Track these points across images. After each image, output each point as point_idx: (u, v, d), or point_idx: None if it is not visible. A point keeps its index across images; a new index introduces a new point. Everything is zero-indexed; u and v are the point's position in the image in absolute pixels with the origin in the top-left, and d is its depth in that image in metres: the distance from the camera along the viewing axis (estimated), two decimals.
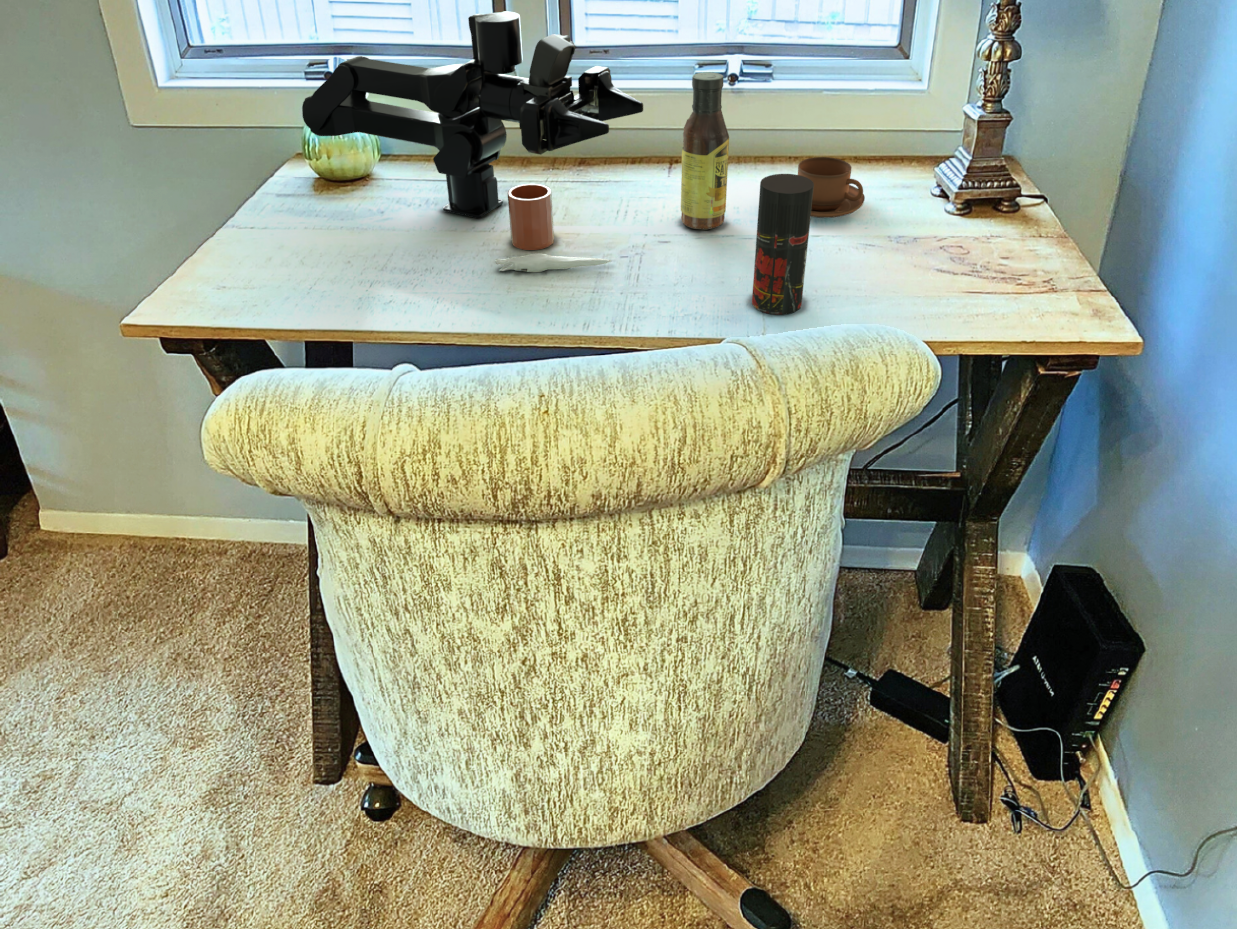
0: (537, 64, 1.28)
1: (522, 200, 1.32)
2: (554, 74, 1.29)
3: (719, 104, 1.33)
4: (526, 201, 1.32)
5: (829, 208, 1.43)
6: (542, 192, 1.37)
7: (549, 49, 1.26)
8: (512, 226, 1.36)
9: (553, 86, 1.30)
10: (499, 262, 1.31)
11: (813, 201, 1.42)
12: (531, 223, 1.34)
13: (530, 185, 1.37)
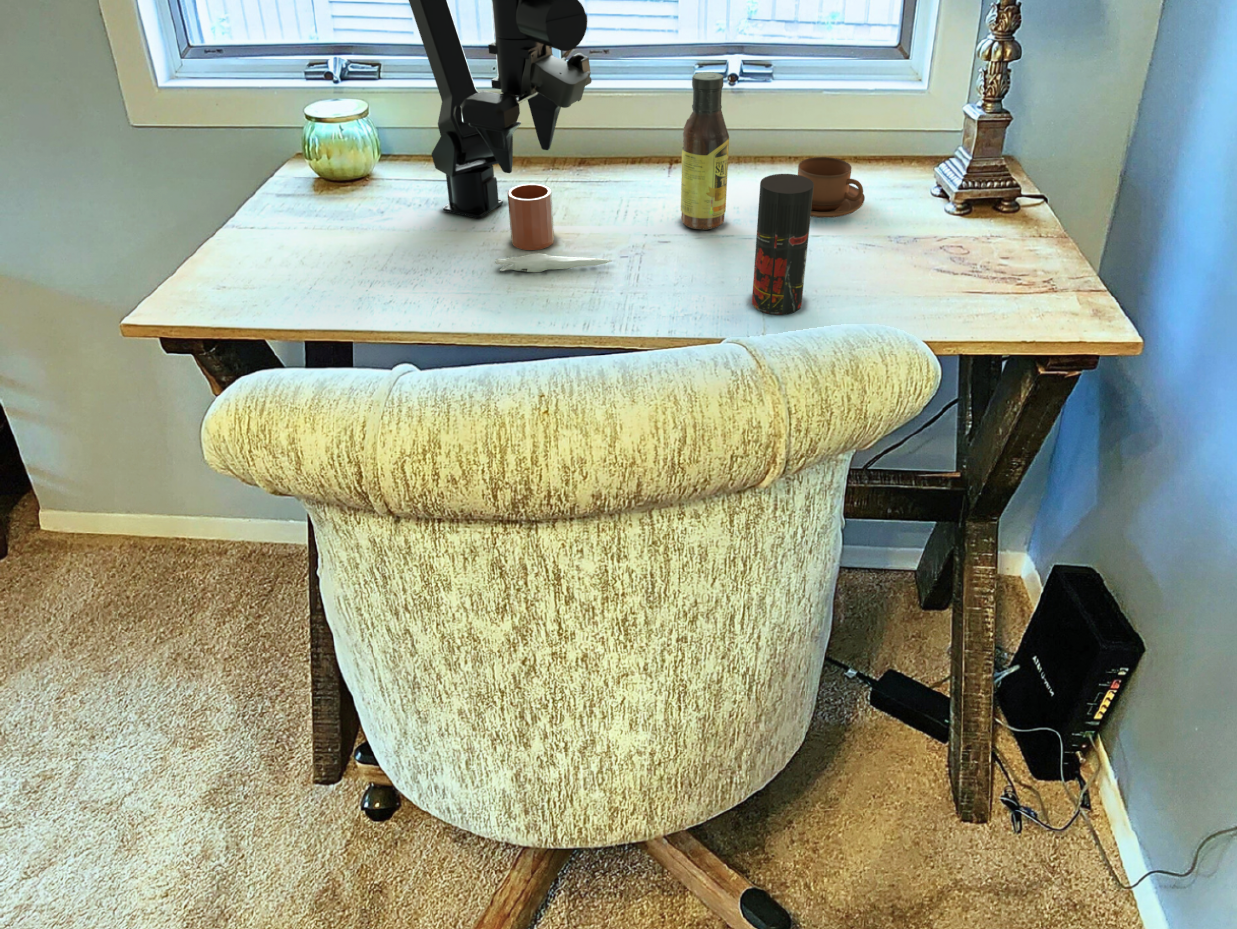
0: (550, 82, 1.22)
1: (522, 200, 1.32)
2: None
3: (719, 104, 1.33)
4: (526, 201, 1.32)
5: (829, 208, 1.43)
6: (542, 192, 1.37)
7: (566, 98, 1.22)
8: (512, 226, 1.36)
9: None
10: (499, 262, 1.31)
11: (813, 201, 1.42)
12: (531, 223, 1.34)
13: (530, 185, 1.37)
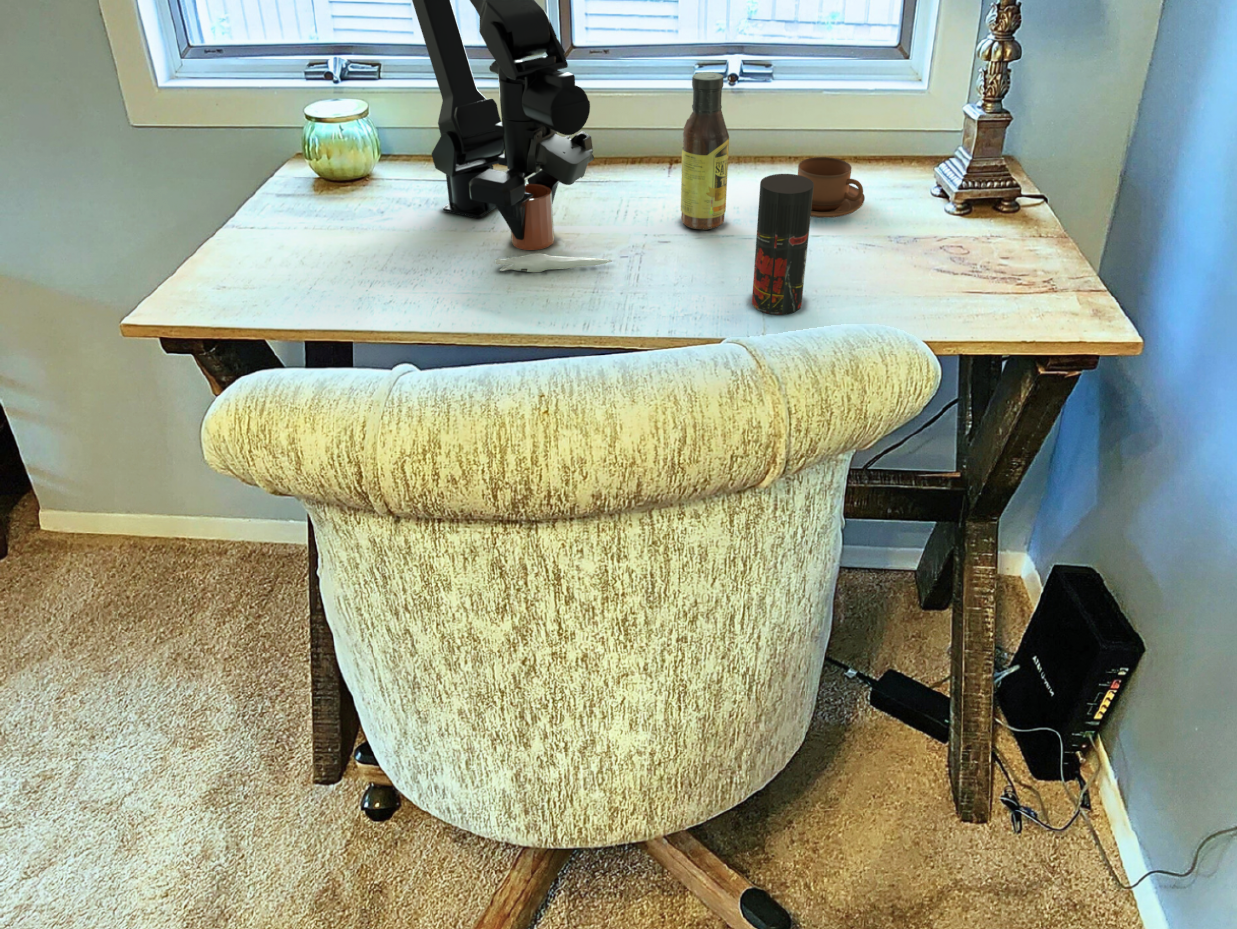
0: (554, 161, 1.27)
1: None
2: None
3: (719, 104, 1.33)
4: None
5: (829, 208, 1.43)
6: (542, 192, 1.37)
7: (569, 176, 1.28)
8: None
9: None
10: (499, 262, 1.31)
11: (813, 201, 1.42)
12: (531, 223, 1.34)
13: (530, 185, 1.37)
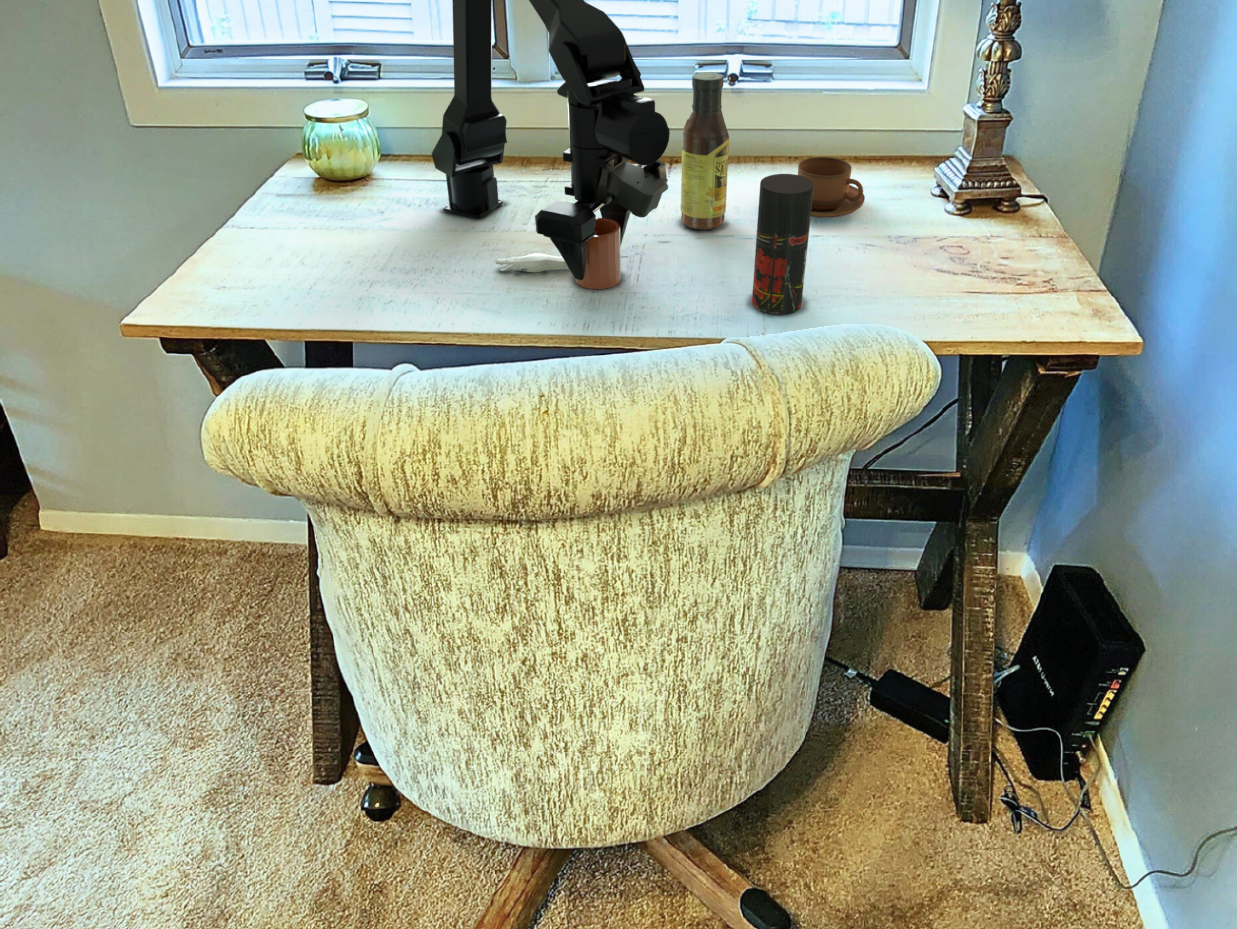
0: (628, 192, 1.17)
1: None
2: None
3: (719, 104, 1.33)
4: (594, 238, 1.23)
5: (829, 208, 1.43)
6: (608, 226, 1.27)
7: (644, 208, 1.18)
8: None
9: None
10: (499, 262, 1.31)
11: (813, 201, 1.42)
12: (598, 261, 1.25)
13: (596, 219, 1.27)
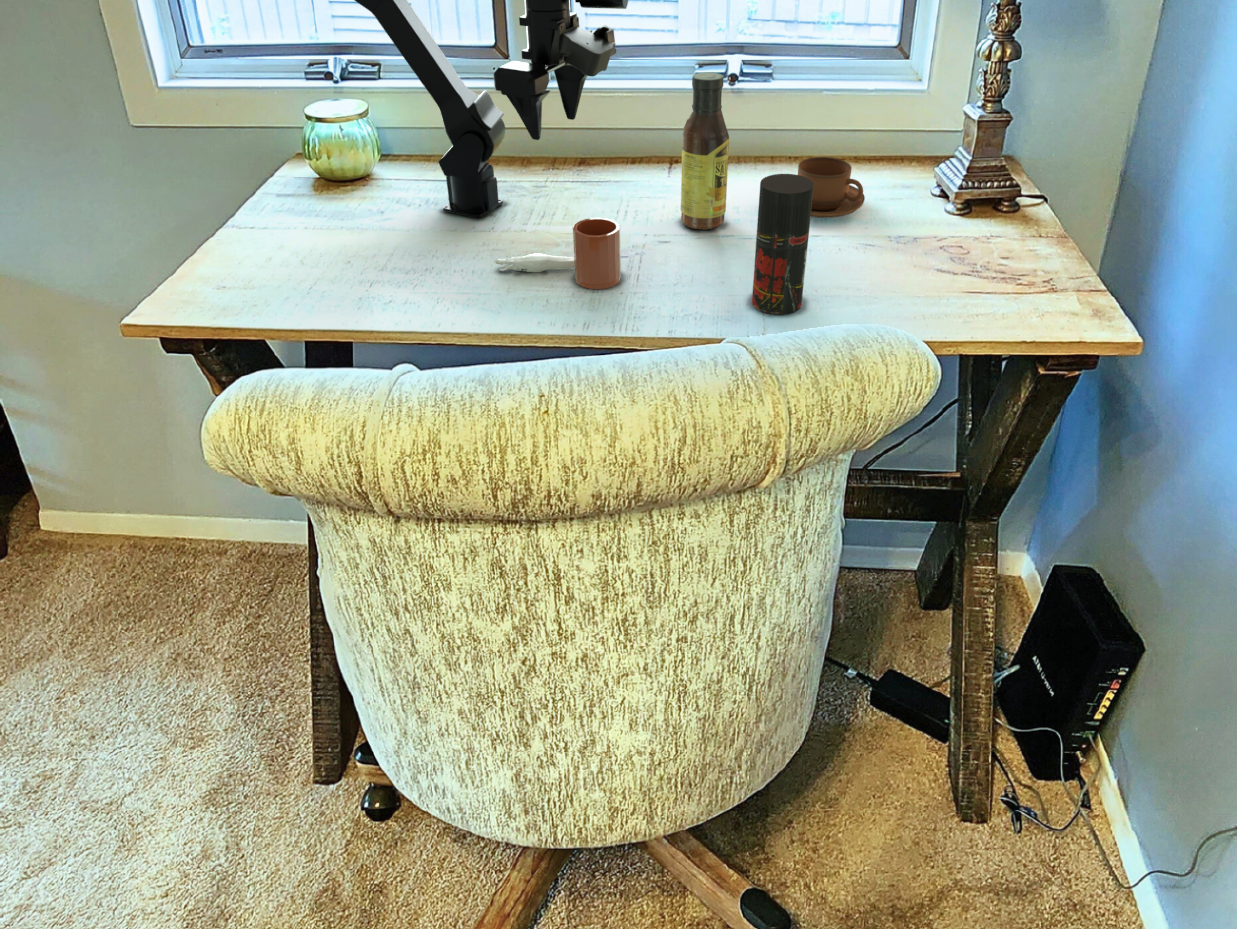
0: (578, 52, 1.29)
1: (590, 237, 1.23)
2: None
3: (719, 104, 1.33)
4: (594, 238, 1.23)
5: (829, 208, 1.43)
6: (608, 226, 1.27)
7: (592, 67, 1.29)
8: (577, 263, 1.26)
9: None
10: (499, 262, 1.31)
11: (813, 201, 1.42)
12: (598, 261, 1.25)
13: (596, 219, 1.27)
